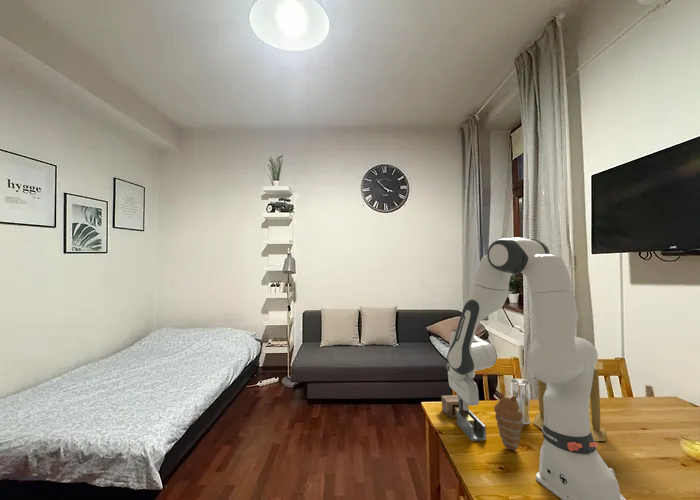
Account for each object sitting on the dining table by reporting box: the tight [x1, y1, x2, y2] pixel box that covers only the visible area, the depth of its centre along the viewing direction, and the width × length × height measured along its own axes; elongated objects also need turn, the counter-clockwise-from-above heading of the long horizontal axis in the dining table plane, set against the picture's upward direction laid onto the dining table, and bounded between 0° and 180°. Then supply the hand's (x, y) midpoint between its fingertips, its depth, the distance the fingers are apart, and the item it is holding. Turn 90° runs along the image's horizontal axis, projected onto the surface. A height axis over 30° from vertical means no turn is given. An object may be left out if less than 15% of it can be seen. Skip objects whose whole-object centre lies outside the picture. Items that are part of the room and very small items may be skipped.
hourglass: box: [532, 360, 607, 442], centre depth 127 cm, size 24×22×25 cm
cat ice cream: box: [493, 391, 524, 451], centre depth 113 cm, size 9×8×18 cm
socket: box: [441, 394, 459, 418], centre depth 140 cm, size 6×8×6 cm
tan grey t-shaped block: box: [452, 399, 475, 429], centre depth 131 cm, size 14×3×8 cm, turn 4°
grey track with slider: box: [456, 409, 487, 442], centre depth 124 cm, size 13×5×5 cm, turn 4°
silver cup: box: [509, 378, 531, 425], centre depth 133 cm, size 7×7×15 cm
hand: (463, 407), depth 130 cm, fingers closed on tan grey t-shaped block, 2 cm apart
